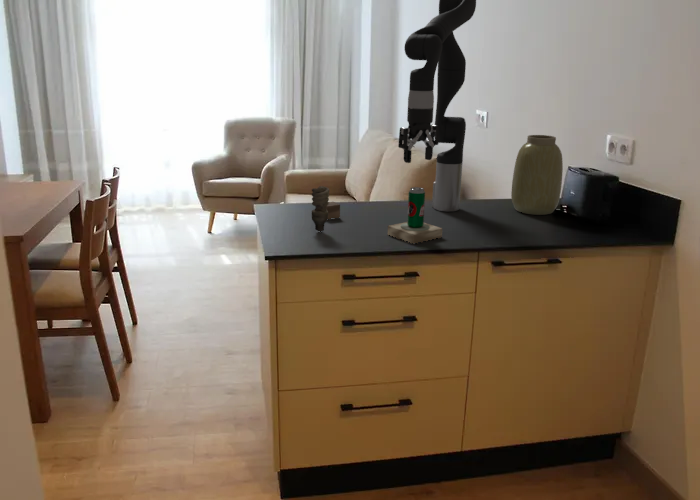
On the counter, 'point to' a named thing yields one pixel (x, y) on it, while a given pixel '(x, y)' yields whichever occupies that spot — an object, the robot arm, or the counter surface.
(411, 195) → the soda can
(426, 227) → the pedestal
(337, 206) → the walnut cube
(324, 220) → the light bulb
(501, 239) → the counter surface
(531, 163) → the vase
